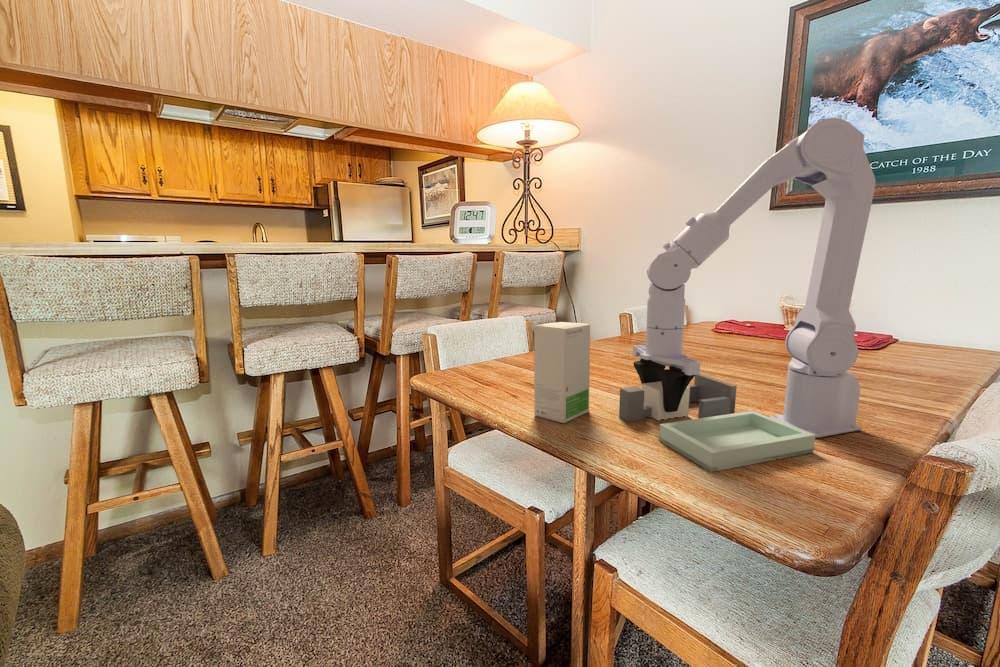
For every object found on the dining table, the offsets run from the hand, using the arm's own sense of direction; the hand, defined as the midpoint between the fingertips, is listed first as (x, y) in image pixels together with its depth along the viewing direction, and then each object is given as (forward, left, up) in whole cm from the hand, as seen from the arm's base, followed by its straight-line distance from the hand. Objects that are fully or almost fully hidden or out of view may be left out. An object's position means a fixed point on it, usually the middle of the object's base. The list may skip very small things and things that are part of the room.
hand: (660, 406), depth 73 cm
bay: (-8, 0, -1) cm, 8 cm away
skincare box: (+16, -6, -2) cm, 17 cm away
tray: (-1, +14, -1) cm, 14 cm away
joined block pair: (+2, 0, -1) cm, 2 cm away
